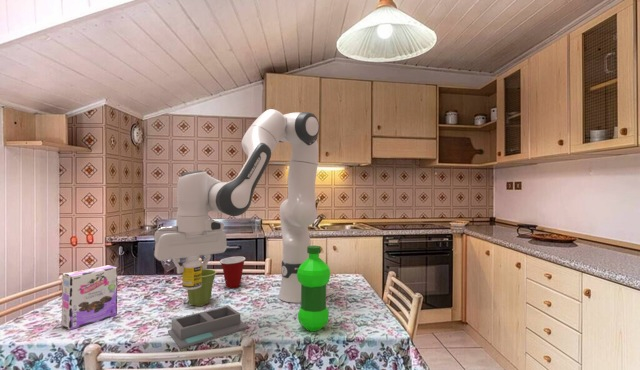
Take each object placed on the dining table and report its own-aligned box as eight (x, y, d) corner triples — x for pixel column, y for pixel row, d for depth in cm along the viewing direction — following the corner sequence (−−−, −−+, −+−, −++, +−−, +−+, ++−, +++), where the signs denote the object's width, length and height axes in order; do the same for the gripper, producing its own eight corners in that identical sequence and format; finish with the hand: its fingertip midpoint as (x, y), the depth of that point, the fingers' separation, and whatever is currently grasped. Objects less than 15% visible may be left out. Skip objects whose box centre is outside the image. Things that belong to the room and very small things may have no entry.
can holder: (231, 315, 111) (231, 304, 111) (248, 328, 101) (248, 316, 101) (167, 332, 98) (167, 320, 98) (180, 348, 88) (180, 335, 88)
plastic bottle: (330, 320, 107) (330, 244, 107) (329, 335, 96) (329, 250, 96) (299, 319, 107) (300, 243, 107) (295, 334, 97) (295, 249, 97)
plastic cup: (217, 284, 145) (218, 257, 145) (242, 281, 149) (242, 255, 149) (221, 291, 135) (221, 262, 135) (247, 288, 140) (248, 260, 140)
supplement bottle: (195, 290, 95) (195, 257, 95) (178, 289, 96) (178, 256, 96) (205, 284, 100) (205, 252, 100) (189, 283, 101) (189, 252, 101)
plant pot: (223, 301, 124) (223, 271, 124) (195, 311, 114) (195, 279, 114) (203, 295, 131) (203, 267, 130) (175, 304, 121) (176, 273, 121)
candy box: (69, 330, 99) (69, 276, 98) (61, 326, 102) (61, 273, 102) (117, 315, 110) (118, 266, 110) (108, 311, 113) (109, 264, 113)
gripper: (157, 228, 89) (156, 279, 89) (228, 223, 102) (228, 268, 102) (151, 226, 94) (151, 274, 94) (220, 221, 107) (220, 264, 107)
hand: (192, 271), depth 98 cm, fingers closed on supplement bottle, 5 cm apart
